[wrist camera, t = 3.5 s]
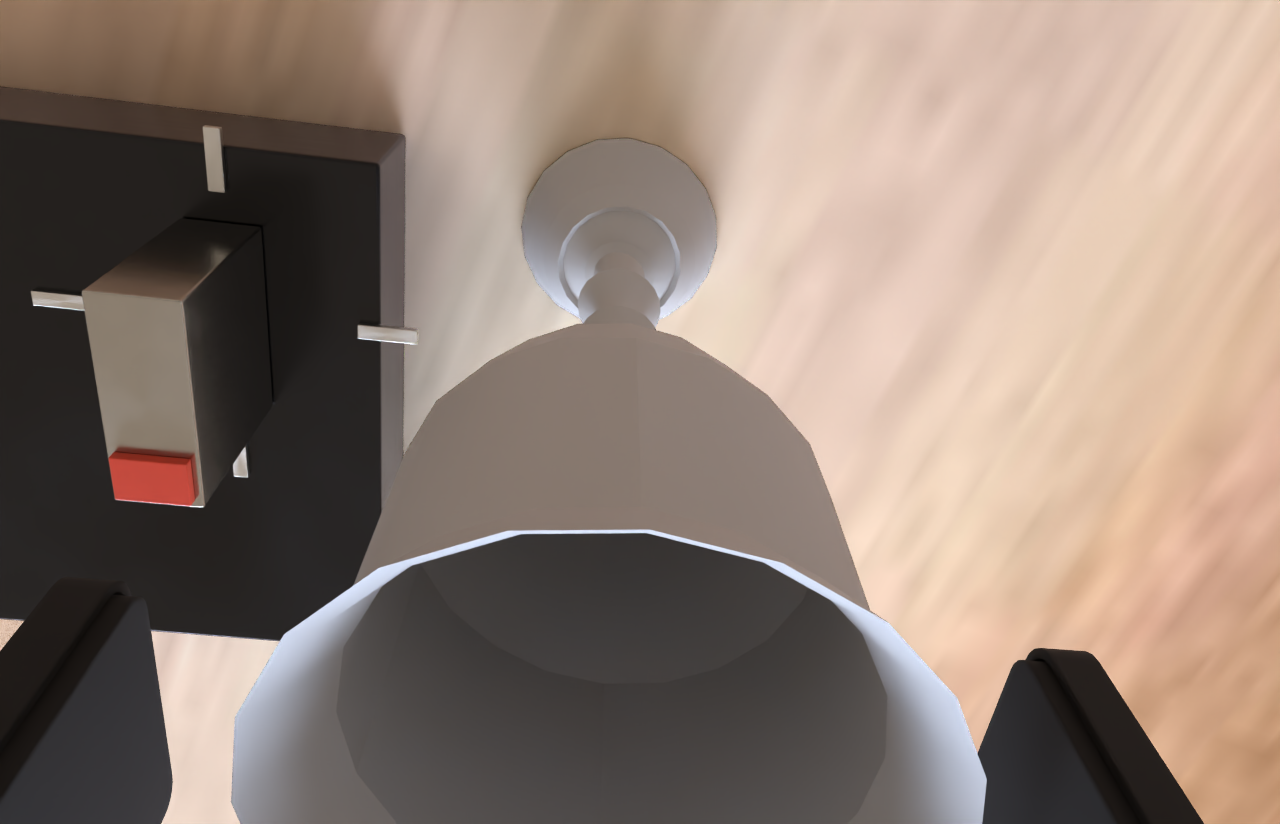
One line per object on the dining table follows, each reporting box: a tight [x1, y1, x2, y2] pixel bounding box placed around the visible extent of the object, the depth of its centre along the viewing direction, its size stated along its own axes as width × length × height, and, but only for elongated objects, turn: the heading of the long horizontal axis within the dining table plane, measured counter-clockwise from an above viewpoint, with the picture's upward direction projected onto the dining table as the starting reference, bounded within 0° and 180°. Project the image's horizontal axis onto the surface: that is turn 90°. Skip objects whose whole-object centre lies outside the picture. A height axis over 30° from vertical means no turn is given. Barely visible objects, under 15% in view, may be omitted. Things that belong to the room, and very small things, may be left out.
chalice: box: [231, 138, 987, 824], centre depth 17 cm, size 7×7×18 cm
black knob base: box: [0, 87, 418, 641], centre depth 25 cm, size 14×12×3 cm
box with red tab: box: [82, 218, 273, 508], centre depth 21 cm, size 5×2×5 cm, turn 173°
